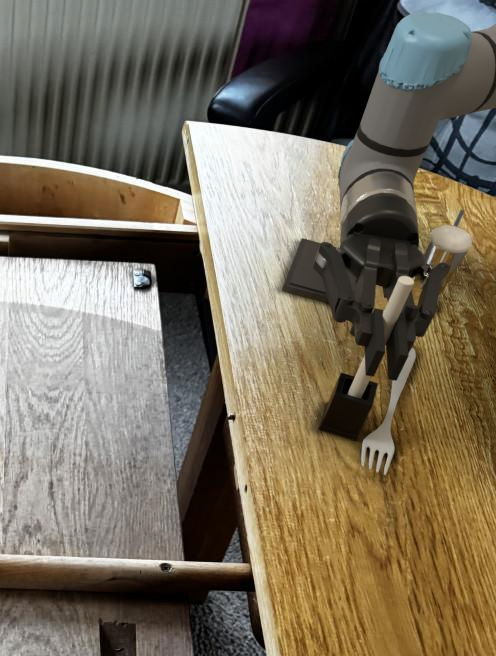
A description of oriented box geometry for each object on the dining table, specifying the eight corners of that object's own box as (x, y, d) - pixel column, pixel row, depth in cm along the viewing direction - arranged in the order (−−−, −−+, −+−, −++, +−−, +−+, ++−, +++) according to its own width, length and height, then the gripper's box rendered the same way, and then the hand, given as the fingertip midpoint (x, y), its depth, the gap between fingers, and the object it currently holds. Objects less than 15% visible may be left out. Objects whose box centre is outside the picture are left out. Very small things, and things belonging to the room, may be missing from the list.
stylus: (358, 402, 94) (415, 278, 83) (356, 411, 93) (413, 286, 82) (344, 398, 94) (399, 273, 83) (342, 407, 93) (397, 281, 82)
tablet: (371, 263, 114) (374, 256, 113) (357, 311, 107) (360, 305, 107) (299, 243, 115) (302, 236, 114) (281, 290, 109) (284, 283, 108)
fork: (423, 351, 104) (430, 338, 102) (383, 488, 90) (390, 475, 89) (394, 342, 104) (401, 329, 103) (350, 477, 91) (357, 464, 90)
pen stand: (362, 417, 96) (379, 382, 93) (356, 441, 94) (373, 406, 91) (324, 406, 97) (340, 371, 93) (318, 429, 95) (333, 394, 91)
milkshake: (443, 295, 111) (483, 215, 103) (435, 319, 108) (476, 238, 100) (405, 283, 112) (442, 203, 103) (397, 307, 109) (434, 226, 101)
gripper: (432, 272, 100) (449, 413, 86) (298, 249, 100) (293, 385, 87) (464, 205, 93) (487, 344, 80) (321, 181, 94) (320, 315, 81)
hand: (386, 365), depth 83 cm, fingers closed on stylus
